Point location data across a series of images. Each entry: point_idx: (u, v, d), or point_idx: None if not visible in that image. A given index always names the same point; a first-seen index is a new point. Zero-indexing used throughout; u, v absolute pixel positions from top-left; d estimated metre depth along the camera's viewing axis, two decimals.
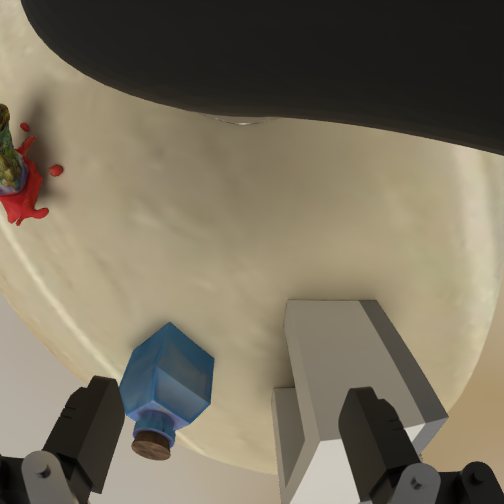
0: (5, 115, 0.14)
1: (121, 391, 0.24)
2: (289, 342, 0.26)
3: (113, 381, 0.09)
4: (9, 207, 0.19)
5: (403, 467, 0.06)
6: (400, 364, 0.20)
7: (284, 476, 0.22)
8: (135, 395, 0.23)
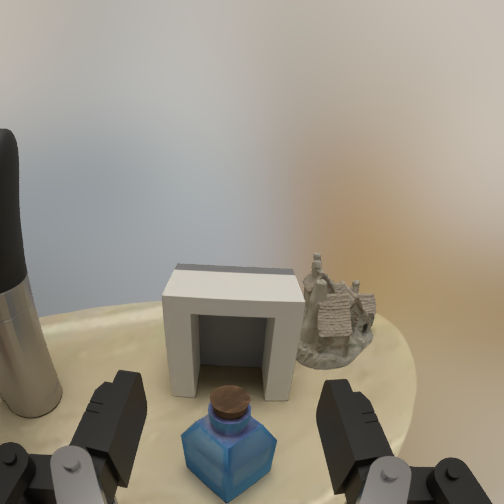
0: None
1: (222, 471, 0.21)
2: (186, 378, 0.35)
3: (138, 375, 0.09)
4: None
5: (373, 459, 0.06)
6: None
7: (275, 328, 0.33)
8: (208, 446, 0.22)
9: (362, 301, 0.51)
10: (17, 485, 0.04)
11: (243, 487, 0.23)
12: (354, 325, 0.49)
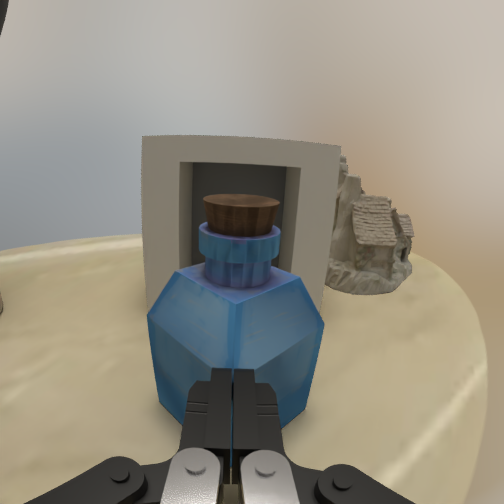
0: None
1: None
2: None
3: (231, 371, 0.10)
4: None
5: (255, 451, 0.07)
6: None
7: (300, 186, 0.23)
8: (195, 316, 0.12)
9: None
10: None
11: None
12: None
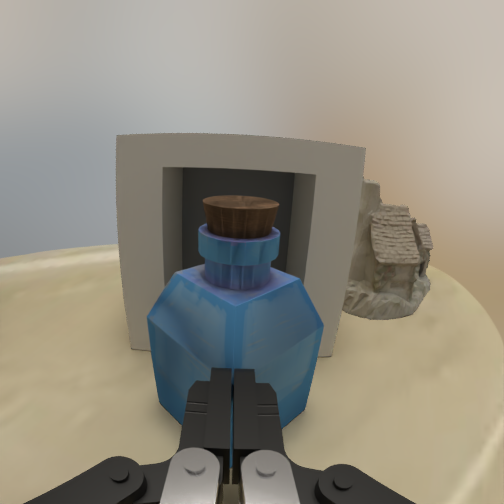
0: None
1: None
2: None
3: None
4: None
5: (255, 451, 0.07)
6: None
7: (315, 198, 0.18)
8: (195, 318, 0.12)
9: None
10: None
11: None
12: None
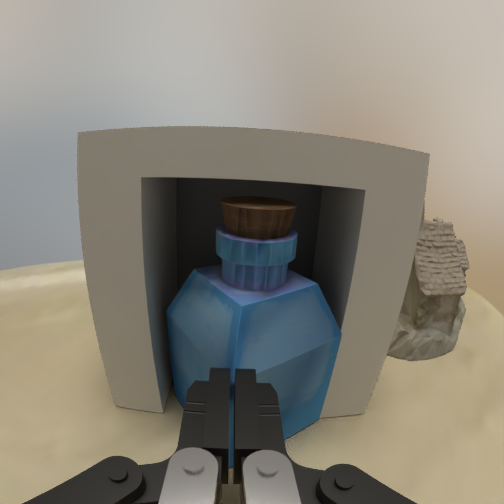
0: None
1: None
2: (140, 368, 0.14)
3: None
4: None
5: (257, 451, 0.07)
6: None
7: (363, 223, 0.12)
8: (206, 315, 0.13)
9: None
10: None
11: None
12: None
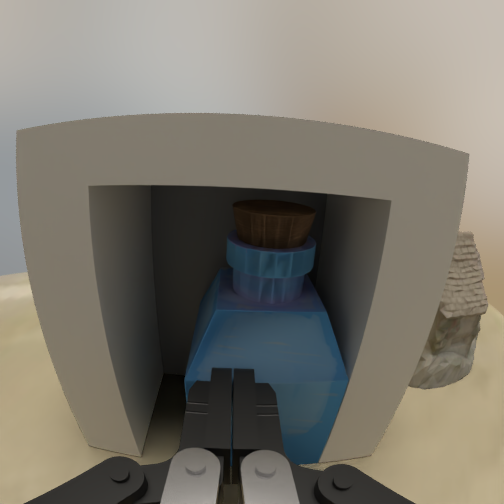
0: None
1: (188, 364, 0.11)
2: (109, 412, 0.11)
3: (231, 371, 0.10)
4: None
5: (255, 451, 0.07)
6: None
7: (386, 245, 0.09)
8: (205, 312, 0.13)
9: None
10: None
11: None
12: None
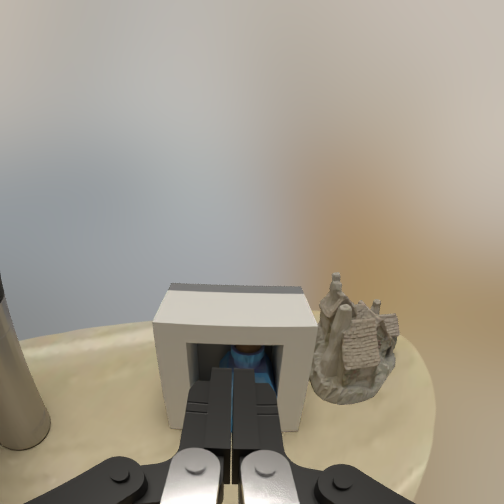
0: None
1: None
2: None
3: None
4: None
5: (255, 451, 0.07)
6: None
7: (283, 356, 0.28)
8: None
9: (384, 323, 0.44)
10: None
11: None
12: None
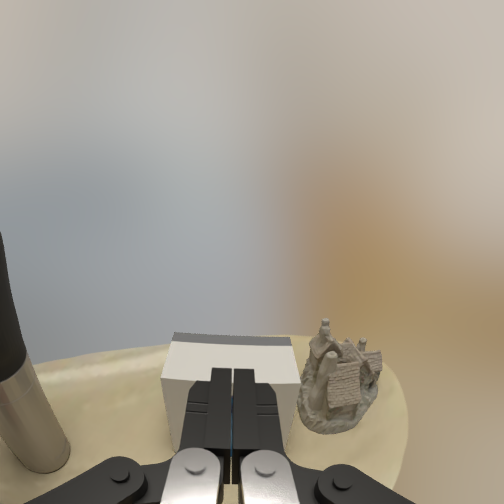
0: None
1: None
2: None
3: (231, 371, 0.10)
4: None
5: (255, 451, 0.07)
6: None
7: None
8: None
9: (369, 359, 0.48)
10: None
11: None
12: (361, 384, 0.46)
